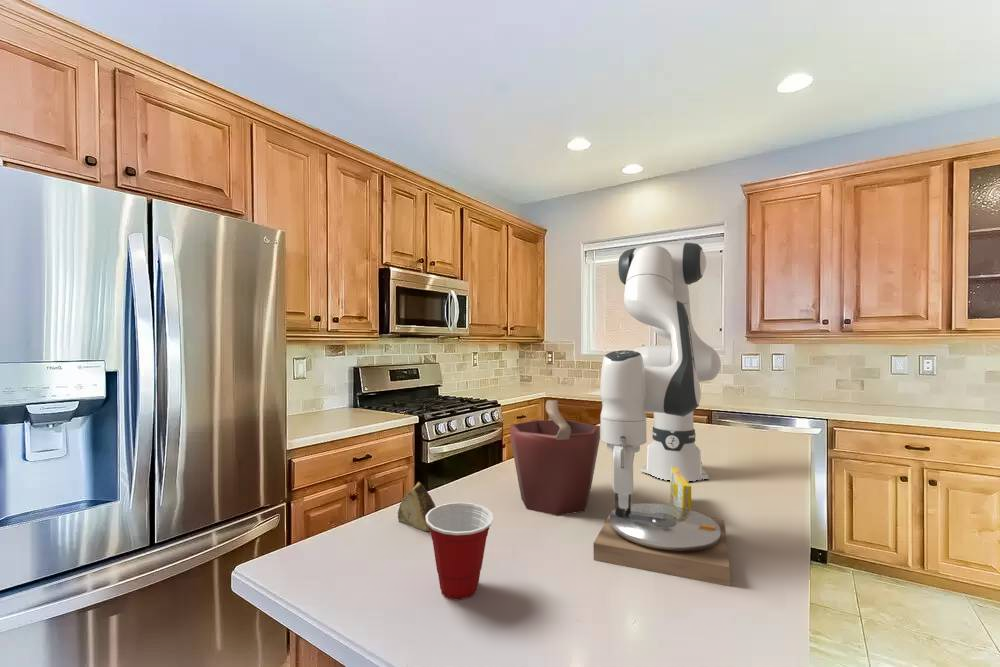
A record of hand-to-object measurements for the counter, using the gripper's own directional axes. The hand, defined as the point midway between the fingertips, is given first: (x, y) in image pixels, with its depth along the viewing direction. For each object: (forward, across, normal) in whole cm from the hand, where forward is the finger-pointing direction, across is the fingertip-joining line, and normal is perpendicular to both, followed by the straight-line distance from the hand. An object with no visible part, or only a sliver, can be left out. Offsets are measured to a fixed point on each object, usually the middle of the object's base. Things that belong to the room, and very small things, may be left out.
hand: (623, 502), depth 90 cm
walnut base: (+8, 0, -7) cm, 10 cm away
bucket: (+8, +18, +17) cm, 26 cm away
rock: (+8, -3, +43) cm, 44 cm away
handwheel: (+5, 0, -7) cm, 9 cm away
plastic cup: (+8, -26, +25) cm, 37 cm away
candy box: (+8, +21, -12) cm, 26 cm away
